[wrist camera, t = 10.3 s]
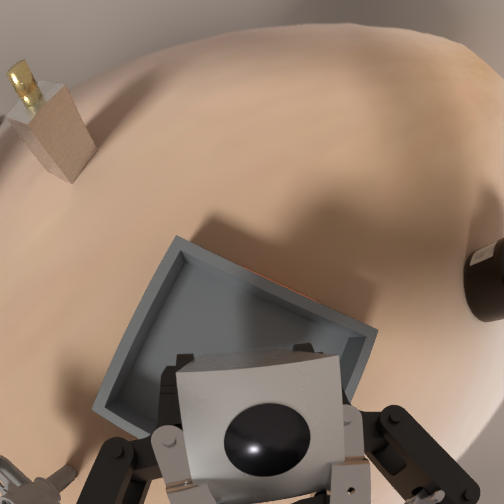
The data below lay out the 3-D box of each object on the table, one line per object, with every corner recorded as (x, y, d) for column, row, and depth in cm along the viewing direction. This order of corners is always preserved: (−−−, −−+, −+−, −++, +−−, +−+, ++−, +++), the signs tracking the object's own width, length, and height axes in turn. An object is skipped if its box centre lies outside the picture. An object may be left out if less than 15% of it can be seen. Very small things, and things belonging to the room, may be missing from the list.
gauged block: (47, 171, 23) (-14, 86, 10) (71, 139, 24) (24, 49, 12) (71, 184, 23) (5, 90, 10) (97, 149, 24) (50, 48, 12)
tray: (108, 400, 18) (91, 409, 15) (183, 247, 22) (178, 231, 19) (288, 477, 17) (299, 495, 14) (358, 328, 22) (379, 326, 19)
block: (208, 424, 14) (197, 507, 5) (200, 354, 16) (175, 372, 7) (281, 416, 15) (345, 485, 6) (275, 348, 16) (339, 355, 7)
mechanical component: (32, 428, 15) (-35, 452, 6) (122, 493, 15) (83, 553, 6) (27, 447, 14) (-35, 474, 5) (114, 510, 14) (76, 567, 5)
